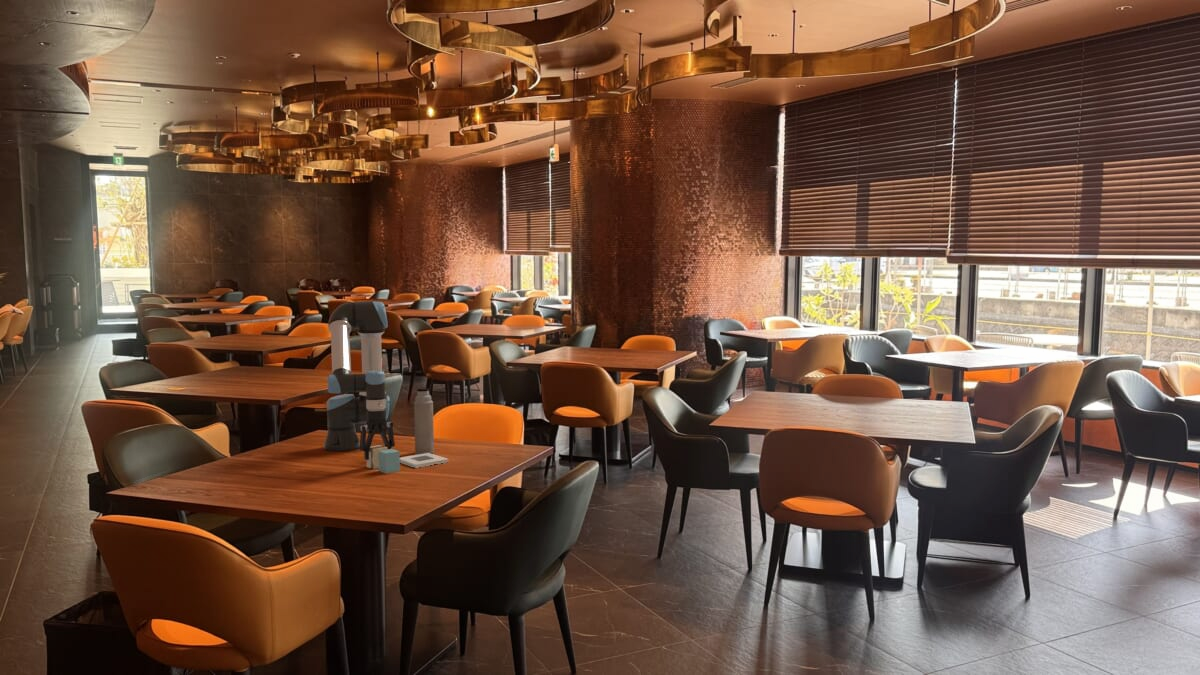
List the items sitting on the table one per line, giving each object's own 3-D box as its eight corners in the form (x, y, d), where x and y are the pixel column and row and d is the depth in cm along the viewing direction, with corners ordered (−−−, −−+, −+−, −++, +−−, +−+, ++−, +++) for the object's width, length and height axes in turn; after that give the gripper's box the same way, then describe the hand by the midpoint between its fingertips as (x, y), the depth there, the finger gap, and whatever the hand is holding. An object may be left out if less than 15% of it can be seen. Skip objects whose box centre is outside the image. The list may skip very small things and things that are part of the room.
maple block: (367, 466, 362) (366, 447, 361) (381, 464, 366) (380, 445, 365) (374, 469, 357) (373, 449, 357) (388, 466, 361) (387, 447, 361)
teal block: (378, 471, 354) (378, 451, 354) (392, 468, 358) (392, 448, 358) (386, 473, 350) (385, 453, 349) (400, 471, 354) (399, 451, 353)
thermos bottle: (435, 450, 391) (434, 387, 388) (431, 454, 383) (430, 389, 380) (417, 450, 391) (415, 387, 388) (413, 454, 383) (411, 389, 380)
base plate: (396, 461, 370) (396, 457, 370) (428, 456, 380) (428, 452, 380) (415, 468, 358) (415, 464, 358) (448, 462, 368) (448, 458, 368)
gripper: (357, 413, 350) (359, 471, 352) (403, 407, 363) (404, 463, 365) (348, 411, 356) (350, 468, 358) (394, 405, 369) (395, 460, 371)
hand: (377, 465), depth 362 cm, fingers open, 7 cm apart
